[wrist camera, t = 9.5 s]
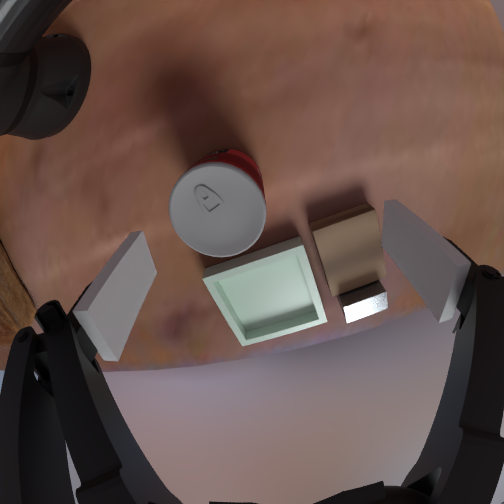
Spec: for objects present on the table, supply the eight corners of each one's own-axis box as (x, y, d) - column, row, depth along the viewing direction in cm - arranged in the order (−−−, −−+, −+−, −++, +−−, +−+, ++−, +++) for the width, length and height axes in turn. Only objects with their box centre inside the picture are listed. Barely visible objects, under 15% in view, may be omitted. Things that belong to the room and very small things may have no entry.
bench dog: (334, 285, 37) (343, 307, 33) (373, 271, 36) (386, 291, 32) (338, 300, 38) (347, 323, 34) (375, 287, 37) (387, 308, 33)
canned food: (220, 134, 28) (202, 142, 18) (277, 176, 30) (288, 206, 21) (182, 187, 31) (150, 221, 21) (236, 225, 33) (229, 274, 23)
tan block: (307, 222, 33) (312, 231, 31) (366, 201, 32) (375, 209, 29) (327, 284, 38) (332, 296, 35) (378, 265, 36) (386, 276, 33)
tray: (205, 268, 36) (202, 278, 34) (299, 235, 34) (303, 244, 31) (242, 334, 42) (242, 346, 39) (323, 310, 39) (327, 321, 37)
